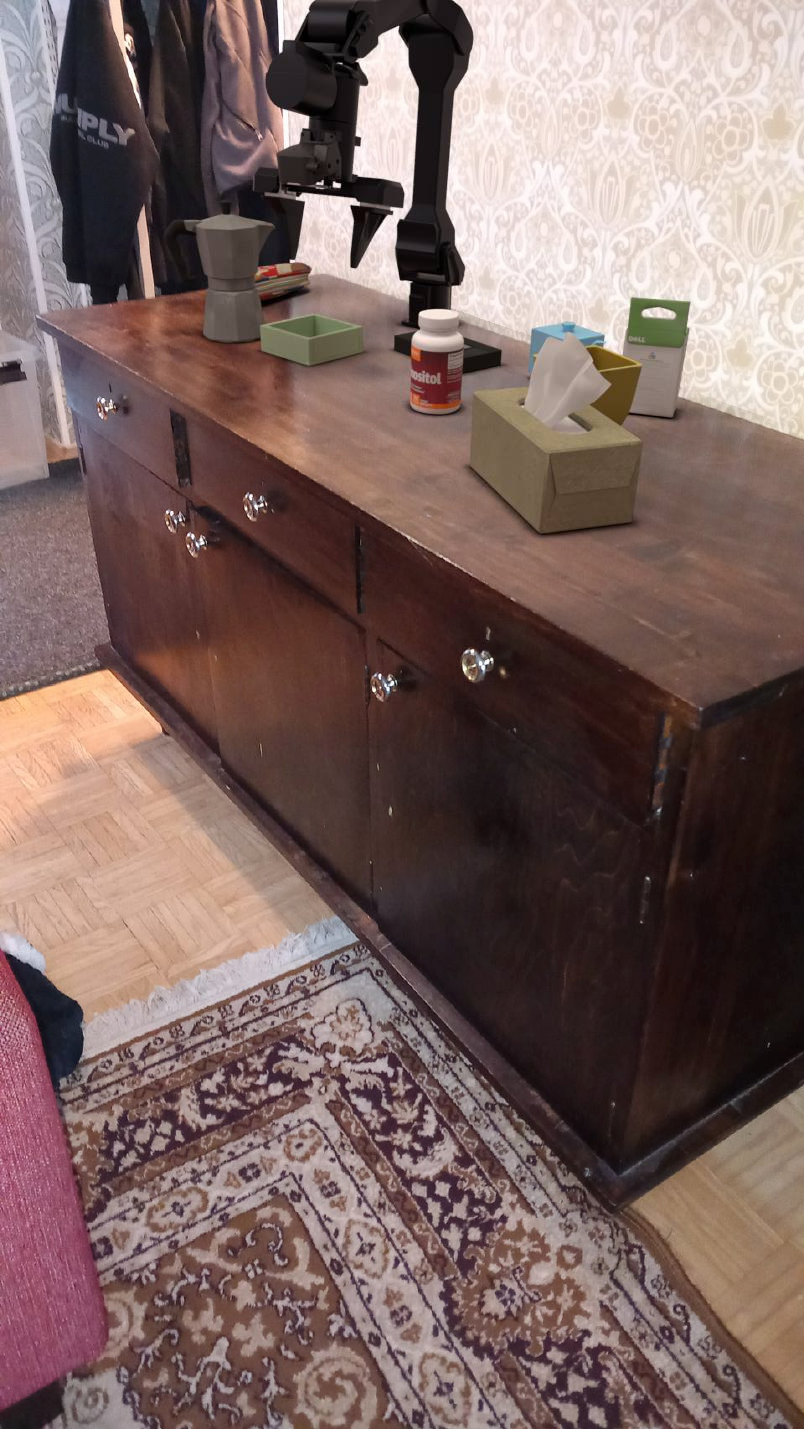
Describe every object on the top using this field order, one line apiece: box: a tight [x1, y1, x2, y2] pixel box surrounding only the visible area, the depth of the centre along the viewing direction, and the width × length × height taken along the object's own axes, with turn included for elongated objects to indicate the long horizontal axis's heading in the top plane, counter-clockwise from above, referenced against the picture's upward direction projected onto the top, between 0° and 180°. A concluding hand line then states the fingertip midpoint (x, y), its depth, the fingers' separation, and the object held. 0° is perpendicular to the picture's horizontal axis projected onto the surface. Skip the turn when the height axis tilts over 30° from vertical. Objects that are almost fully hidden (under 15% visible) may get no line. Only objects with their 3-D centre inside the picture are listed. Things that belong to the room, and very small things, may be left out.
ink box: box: [621, 296, 692, 418], centre depth 126 cm, size 7×4×13 cm, turn 71°
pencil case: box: [255, 261, 313, 303], centre depth 174 cm, size 11×20×5 cm, turn 133°
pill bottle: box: [409, 309, 464, 415], centre depth 127 cm, size 6×6×11 cm
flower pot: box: [533, 345, 642, 427], centre depth 119 cm, size 9×9×9 cm
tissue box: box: [469, 332, 644, 535], centre depth 103 cm, size 19×10×16 cm, turn 18°
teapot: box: [527, 321, 607, 373], centre depth 136 cm, size 12×6×8 cm, turn 33°
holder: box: [260, 312, 364, 367], centre depth 149 cm, size 10×10×4 cm
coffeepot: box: [163, 199, 276, 344], centre depth 151 cm, size 15×9×18 cm, turn 103°
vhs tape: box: [393, 330, 503, 374], centre depth 148 cm, size 8×14×2 cm, turn 38°
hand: (322, 263), depth 134 cm, fingers open, 9 cm apart
